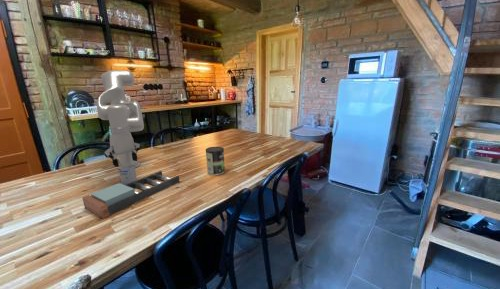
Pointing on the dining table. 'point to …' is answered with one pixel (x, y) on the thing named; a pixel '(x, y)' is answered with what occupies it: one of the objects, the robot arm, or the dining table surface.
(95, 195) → the slab
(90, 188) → the dining table surface
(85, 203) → the roller track
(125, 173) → the medicine box
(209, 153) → the coffee can
